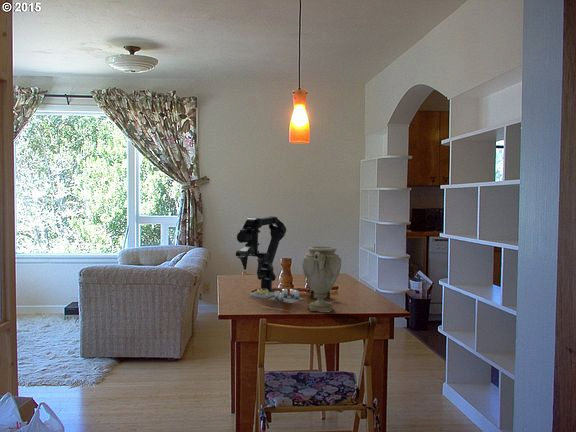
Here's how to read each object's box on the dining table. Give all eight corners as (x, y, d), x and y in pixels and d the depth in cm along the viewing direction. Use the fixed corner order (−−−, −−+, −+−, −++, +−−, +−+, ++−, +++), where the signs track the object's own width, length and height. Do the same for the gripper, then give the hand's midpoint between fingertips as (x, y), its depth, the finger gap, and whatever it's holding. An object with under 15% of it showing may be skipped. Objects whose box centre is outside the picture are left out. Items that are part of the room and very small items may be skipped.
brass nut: (261, 294, 298) (262, 287, 298) (269, 295, 295) (269, 289, 295) (255, 296, 293) (255, 289, 293) (263, 297, 291) (263, 290, 290)
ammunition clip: (328, 299, 293) (329, 276, 292) (330, 299, 291) (330, 276, 291) (309, 299, 291) (309, 276, 290) (310, 300, 289) (310, 277, 288)
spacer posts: (285, 295, 295) (286, 288, 295) (301, 298, 289) (302, 290, 289) (271, 299, 283) (271, 292, 283) (287, 302, 278) (287, 294, 278)
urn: (300, 303, 279) (302, 244, 277) (337, 304, 279) (339, 244, 277) (301, 315, 255) (303, 249, 253) (342, 316, 255) (344, 250, 253)
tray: (260, 294, 301) (260, 290, 301) (275, 296, 296) (275, 292, 296) (249, 297, 293) (249, 293, 293) (265, 299, 288) (265, 295, 287)
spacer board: (282, 296, 296) (282, 295, 296) (305, 300, 288) (305, 298, 288) (267, 301, 284) (267, 299, 284) (290, 304, 277) (290, 303, 277)
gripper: (229, 241, 296) (228, 270, 297) (258, 243, 286) (257, 274, 287) (242, 239, 306) (241, 268, 306) (270, 242, 296) (269, 271, 296)
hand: (252, 270), depth 299 cm, fingers open, 9 cm apart
